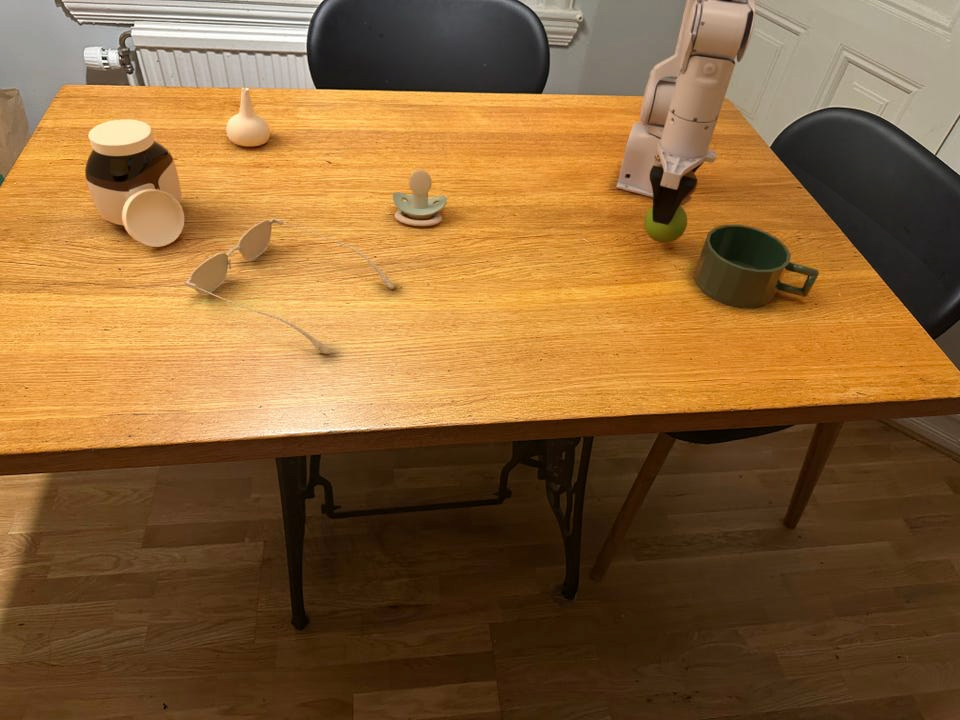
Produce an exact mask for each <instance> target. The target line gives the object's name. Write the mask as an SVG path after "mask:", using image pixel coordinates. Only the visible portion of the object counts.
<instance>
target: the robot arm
mask: <svg viewBox="0 0 960 720" xmlns="http://www.w3.org/2000/svg"><path fill="white" fill-rule="evenodd" d="M755 16H756V3H755V0H686V2H685V7H684V11H683V16H682V19H681V24H680V28H679V33H678V37H677V40H676V41H677V42H676V47H675V51H674V53H673V54H672V55H671V56H669V57H668V58H666V59H664V60H662V61H661V62H658V63H657V64H656V65H654V66H653V68H652V69H651V70H650V72H649V77H648V81H647V84H646V86H645V89H644V93H643V98H642V102H641V108H640V113H639V121H634V123H633V125H632V126H631V127H632V128H631V129H630V132H629V135H628V139H627V143H626V145H625V150H624V153H623V158H622V161H621V163H620V171H619V174H618V181H617V183H616V186H615V188H616V189H618V190H623V191H627V192H630V193H634V194H637V195H641V196H646V197H650V198H652V206H653V211H652V219H653V221H654V222H658V223H661V224H665V225H668V224H669V223H670V222H671V220H672V218H673V216H674V215H675V213H676V211H677V209H678V207H679V205H680V203H681V202H682V200H683V199H684V198H685V196H686V195H687V194H688V193H689V192H691V191H692V189H693V188H694V187H695V186H696V183H697V184H698V178H697V179H694V178H690V177H686V176H684V175H685V174H686V173H688V172H689V171H693V172H694V173H695V174H696V172H697V170H699V169H700V167H701V166H703V164H704V163H710V164H713V163H715V161H716V158H717V155H718V151H716V150H713V149H709V148H710V145H711V143H712V139H713V135H714V132H715V129H716V126H717V123H718V120H719V116H720V114H721V110H722V107H723V104H724V100H725V97H726V94H727V91H728V88H729V85H730V82H731V79H732V76H733V72H734V69H735V67H736V61H737V63H741V60H742V59H743V57H744V56H745V54H746V52H747V49H748V47H749V43H750V41H751V38H752V34H753V30H754V25H755V19H756V18H755ZM735 59H736V60H735ZM665 78H667V79H668V78H669V79H676V81H671V80H663V79H665ZM656 154H657V155H659V157H660V161H659V162H658V163H657V161H655V155H656ZM655 164H661V165H662V166H663V168H662V167H658V166H654V165H655ZM696 187H697V186H696ZM652 189H653V191H652ZM680 206H681V205H680Z"/></svg>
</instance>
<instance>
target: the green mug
mask: <svg viewBox="0 0 960 720" xmlns="http://www.w3.org/2000/svg"><path fill="white" fill-rule="evenodd" d="M791 256H792V255H791V253H790V251H789V249H788V246H787V245H786V244H785V243H784V242H783V241H781V239H779V238H778V237H776V236H775V235H772V234H770V233H769V232H767V231H764V230H762V229H759V228H756V227H753V226H749V225H743V224H723V225H719V226H715V227H714V228H712V229H711V230H710V231H708V232H707V233H706V236H705V240H704V243H703V246H702V248H701V252H700V253H699V257H698V260H697V262H696V266H695V269H694V271H693V279H694V282H695V284H696V286H697V287H698V288H699V290H701V291H702V292H703V293H704V294H705V295H706V296H708V297H709V298H711V299H713V300H715V301H717V302H719V303H721V304H723V305H727V306H731V307H734V308H742V309H754V308H755V309H756V308H760V307H764V306H765V305H767V304H768V303H770V302H771V301H772V300H773V299H774V297H775V296H776V294H777V292H778V291H781V292H784V293H787V294H791V295H795V296H798V297H802V298H806V297H808V296H809V294H810V293H811V290H812V288H813V286H814V285H815V282H816V280H817V278H818V277H819V274H820V272H819V269H817V268H813V267H810V266H806V265H802V264H799V263H795V262H791ZM787 271H788V272H793V273H796V274H799V275H803V276H807V277H806V279H805V281H804V283H803V285H802V287H800V286H796V285H793V284H789V283H786V282H782V280H783V278H784V276H785V274H786V272H787Z"/></svg>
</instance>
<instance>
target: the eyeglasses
mask: <svg viewBox="0 0 960 720" xmlns="http://www.w3.org/2000/svg"><path fill="white" fill-rule="evenodd" d="M274 224H277V225H280V226H283V225H285V226H288V227H291V228H295V229H298V230H301V231H304V232H308V233H310V234H314V235H316V236H320V237H321V238H325V239H328V240H330V241H333V242H336V243H337V244H340V245H343V246H344V247H347V248H348V249H351V250H353V251H354V252H356V253H357V254H359V256H361V257H363V258H364V259H365V260H366V261H367V262H368V263H369V264H370V266H372V268H373V269H374V270H375V271H376V272H377V273H378V275H379V278H380V279H381V280H382V283H383V284H384V286H386V287H387V288H388V289H390V290H394V289H395V285H394V283H393V282H392V281H391V280H390V279H389V277H388V276H387V275H386V274H385V273H384V272H383V271H382V270H381V269H380V268H379V267H378V266H377V265H376V264H375V262H373V261H372V260H371V259H370V258H369V257H367V255H365V254H364V253H362V252H361V251H359V250H358V249H356V248H355V247H353V246H351V245H350V244H347V243H344V242H342V241H339V240H336V239H334V238H331V237H329V236H324V235H322V234H319V233H316V232H314V231H311V230H307V229H304V228H301V227H297V226H294V225H292V224H288V223H285V222H284V221H283V220H281V219H278V218H275V217H273V218H271V219H270V220H268V219H265V220H262V221H259V222H258V223H256V224H254V225H253V226H252V227H250V228H249V229H248V230H247V231H245V232H244V234H243V235H242V236H240V238H239V240H238V242H237V245H236V246H232V247H229V249H228V251H227V252H226V253H224V252H219V253H217V254H214V255H212V256H210V257H209V258H207V259H205V260H204V261H203V262H201V263H200V264H199V265H198V266H197V267H195V269H194V270H192V272H191V273H190V275H189V278H188V279H187V280H186V281H184V286H186V287H188V288H191V289H193V290H194V291H196V292H197V293H198V294H199V295H202V296H206V295H212V296H214V297H215V298H216V297H217V298H219V299H221V300H224V301H226V302H228V303H231V304H234V305H237V306H239V307H242V308H245V309H247V310H250V311H253V312H256V313H258V314H260V315H263V316H266V317H270V318H273V319H276V320H278V321H280V322H283V323H285V324H287V325H288V326H290V327H291V328H293V329H295V330H296V331H297V332H299V333H300V334H301V335H303V336H304V337H305V338H306V339H308V340H309V342H310V343H311V344H312V346H314V348H315V349H316V351H318V352H319V353H321V354H325V355H330V354H331V353H332V352H331V349H330V348H329V347H327V346H326V345H324V344H323V343H322V342H321V341H319V340H318V339H316V338H315V337H314V336H312V335H311V334H309V332H307V331H305V330H304V329H302V328H300V327H299V326H297V325H296V324H294V323H292V322H290V321H288V320H286V319H284V318H282V317H280V316H276V315H274V314H271V313H268V312H264V311H260V310H256V309H254V308H250V307H248V306H245V305H243V304H239V303H237V302H234V301H231V300H230V299H226V298H224V297H222V296H219V295H217V294H215V293H213V292H214V291H215V290H217V289H218V288H219V287H220V286H221V285H222V284H223V283H224V282H225V281H226V278H227V274H228V269H229V270H232V260H231V258H228V257H229V256H230V255H231V254H232V253H234V251H236V250H238V252H239V253H240V254H241V256H242V257H243V258H244V259H245V260H247V261H249V262H251V261H252V262H253V260H255V259H257V258H259V256H261V255H263V254H264V253H265V252H266V250H267V249H268V247H269V245H270V243H271V237H272V225H274Z"/></svg>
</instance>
